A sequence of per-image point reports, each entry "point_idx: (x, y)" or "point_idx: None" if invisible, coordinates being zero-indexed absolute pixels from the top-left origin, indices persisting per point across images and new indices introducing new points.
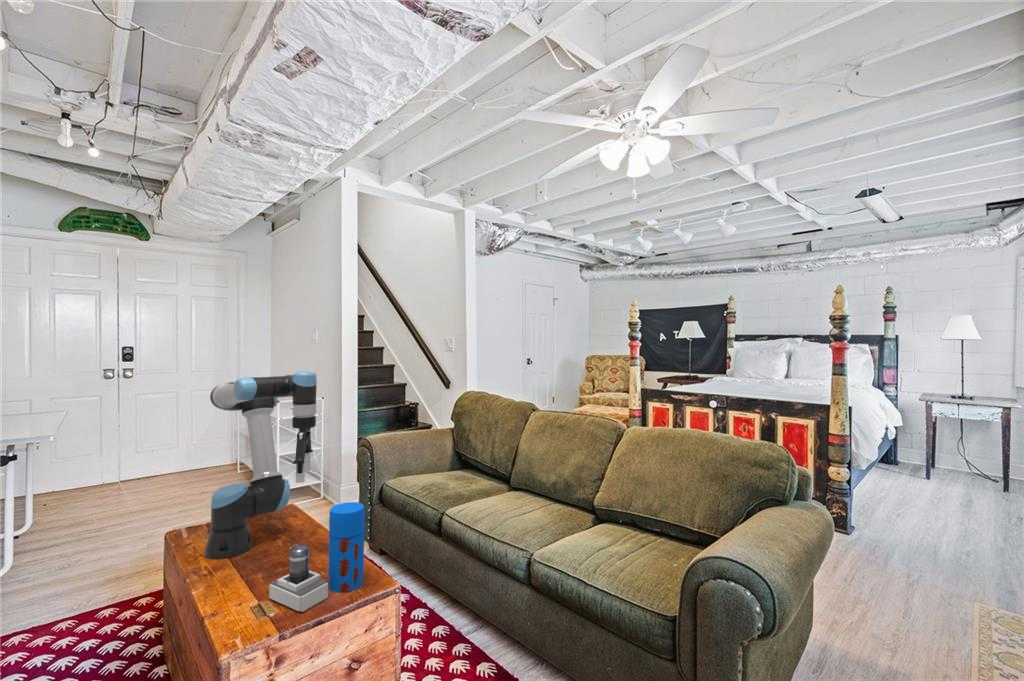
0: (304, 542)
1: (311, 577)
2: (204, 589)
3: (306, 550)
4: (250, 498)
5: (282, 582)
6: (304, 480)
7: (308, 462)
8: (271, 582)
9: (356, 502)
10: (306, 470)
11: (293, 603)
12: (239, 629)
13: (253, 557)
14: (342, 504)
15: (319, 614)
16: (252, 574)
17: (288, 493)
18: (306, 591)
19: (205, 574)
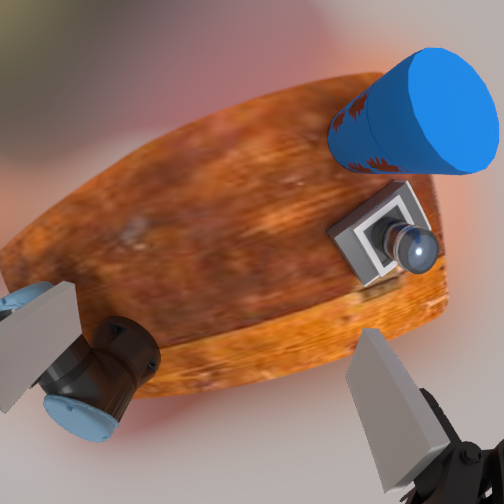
0: (121, 219)
1: (403, 212)
2: (269, 370)
3: (434, 235)
4: (79, 381)
5: (393, 266)
6: (375, 334)
7: (33, 325)
8: (365, 284)
9: (416, 56)
10: (73, 309)
11: None
12: (412, 306)
13: (166, 313)
14: (428, 110)
15: (430, 199)
16: (242, 311)
17: (32, 290)
18: (424, 222)
19: (213, 374)
